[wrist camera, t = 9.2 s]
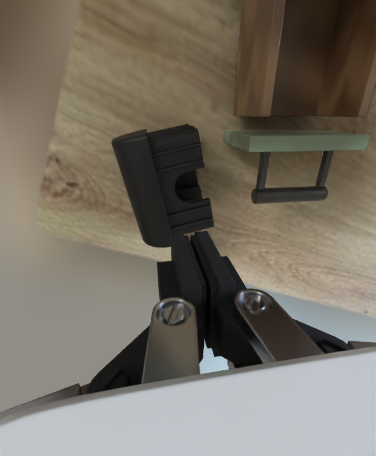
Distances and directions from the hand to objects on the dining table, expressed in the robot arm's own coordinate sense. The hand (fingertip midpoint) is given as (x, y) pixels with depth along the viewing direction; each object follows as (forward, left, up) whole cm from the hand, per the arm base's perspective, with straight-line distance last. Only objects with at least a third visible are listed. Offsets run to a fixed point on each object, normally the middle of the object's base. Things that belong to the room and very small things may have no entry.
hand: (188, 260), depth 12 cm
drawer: (+11, +8, -16) cm, 21 cm away
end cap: (0, 0, -17) cm, 17 cm away
